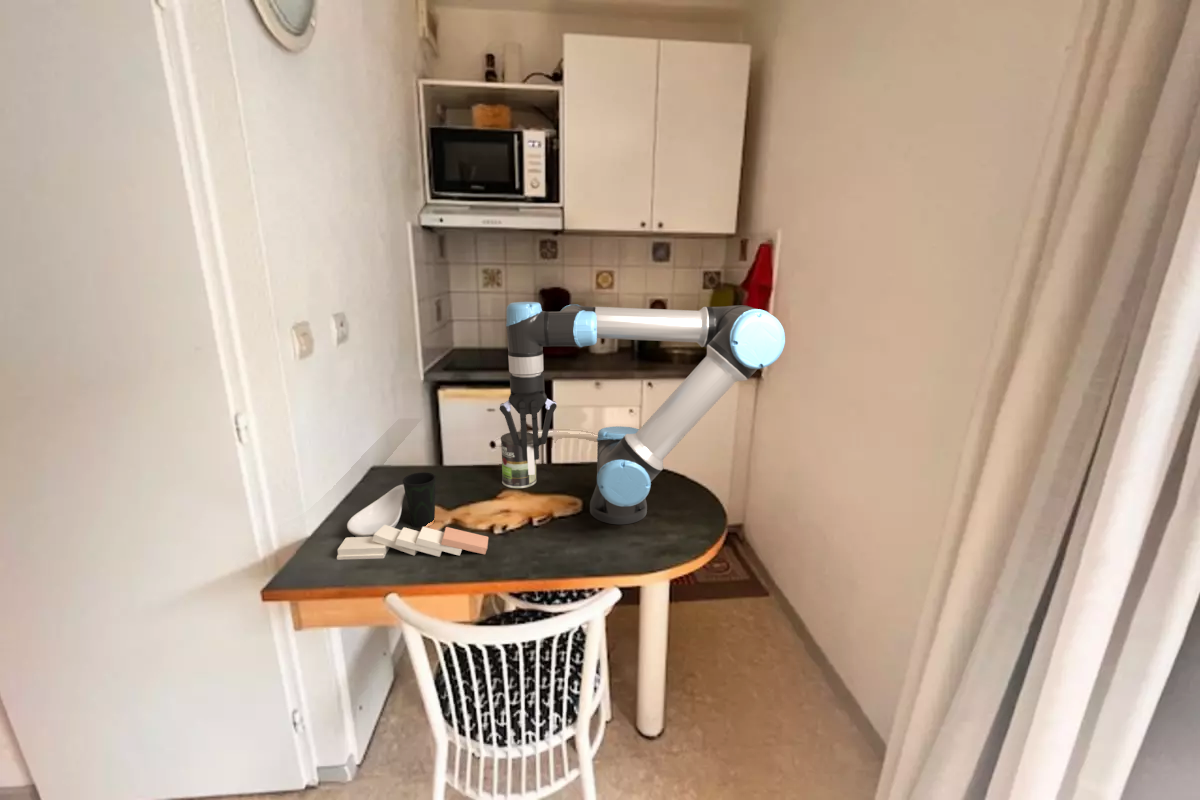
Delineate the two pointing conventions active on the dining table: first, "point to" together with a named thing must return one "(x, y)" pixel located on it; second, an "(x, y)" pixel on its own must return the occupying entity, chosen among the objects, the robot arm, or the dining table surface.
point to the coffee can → (515, 463)
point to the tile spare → (465, 540)
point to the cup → (420, 498)
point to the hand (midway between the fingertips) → (531, 472)
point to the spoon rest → (378, 514)
